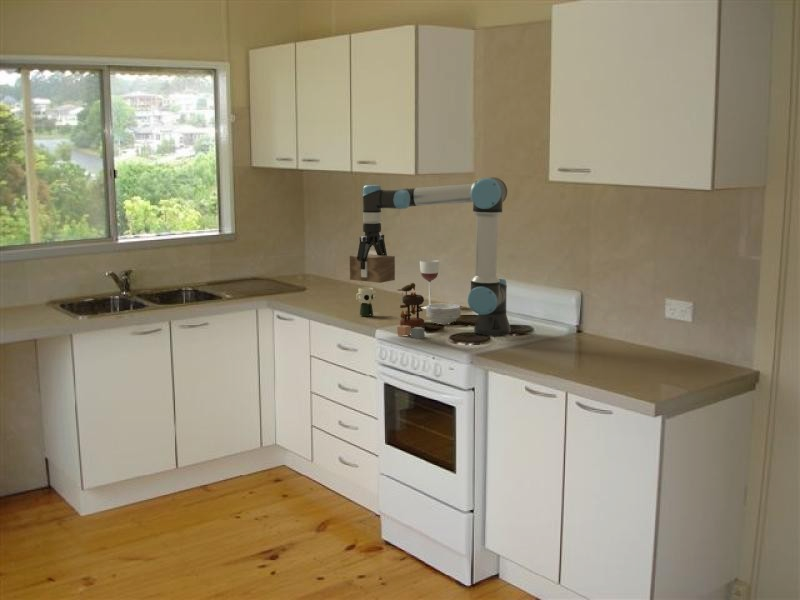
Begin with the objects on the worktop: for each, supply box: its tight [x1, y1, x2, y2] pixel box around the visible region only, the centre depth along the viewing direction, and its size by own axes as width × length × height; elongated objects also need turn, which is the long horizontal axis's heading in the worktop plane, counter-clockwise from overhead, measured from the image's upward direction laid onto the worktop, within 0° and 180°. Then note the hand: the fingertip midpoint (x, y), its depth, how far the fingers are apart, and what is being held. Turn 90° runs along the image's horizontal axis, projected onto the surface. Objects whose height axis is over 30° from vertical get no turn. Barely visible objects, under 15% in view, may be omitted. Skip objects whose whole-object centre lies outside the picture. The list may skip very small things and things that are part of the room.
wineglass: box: [419, 259, 440, 310], centre depth 449 cm, size 9×10×23 cm
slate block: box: [410, 327, 426, 340], centre depth 377 cm, size 4×4×4 cm
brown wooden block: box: [349, 253, 396, 284], centre depth 383 cm, size 16×10×10 cm, turn 54°
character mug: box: [355, 287, 377, 317], centre depth 428 cm, size 11×7×13 cm, turn 126°
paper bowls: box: [425, 302, 462, 325], centre depth 408 cm, size 15×15×8 cm
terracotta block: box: [396, 325, 411, 336], centre depth 381 cm, size 4×4×4 cm
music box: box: [397, 282, 425, 327], centre depth 398 cm, size 15×11×20 cm
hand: (372, 275), depth 384 cm, fingers closed on brown wooden block, 10 cm apart
